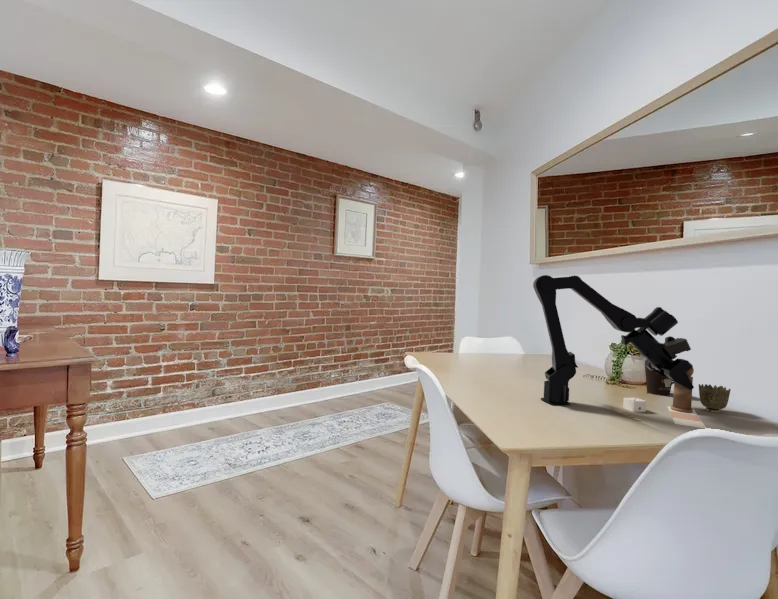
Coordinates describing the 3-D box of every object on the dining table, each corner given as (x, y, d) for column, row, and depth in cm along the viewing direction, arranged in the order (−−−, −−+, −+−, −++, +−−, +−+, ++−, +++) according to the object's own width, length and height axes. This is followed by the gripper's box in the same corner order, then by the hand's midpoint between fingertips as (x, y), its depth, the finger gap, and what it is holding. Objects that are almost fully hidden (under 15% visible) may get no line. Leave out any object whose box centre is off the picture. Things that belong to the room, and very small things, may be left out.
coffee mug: (648, 397, 141) (650, 367, 141) (639, 391, 149) (641, 363, 149) (688, 401, 138) (689, 370, 138) (676, 394, 147) (678, 366, 147)
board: (709, 432, 106) (710, 429, 106) (671, 426, 109) (671, 423, 109) (696, 412, 124) (696, 409, 124) (664, 408, 128) (664, 405, 128)
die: (633, 415, 119) (634, 401, 119) (623, 411, 123) (623, 397, 123) (645, 415, 120) (646, 401, 120) (635, 411, 124) (635, 397, 124)
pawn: (681, 413, 120) (684, 363, 119) (666, 407, 125) (669, 360, 125) (697, 412, 121) (700, 363, 120) (681, 407, 126) (684, 360, 125)
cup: (734, 418, 119) (736, 390, 119) (705, 416, 121) (706, 388, 121) (719, 411, 127) (721, 384, 127) (692, 409, 128) (693, 382, 128)
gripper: (686, 330, 114) (730, 374, 112) (657, 325, 132) (695, 363, 130) (652, 357, 116) (695, 401, 114) (628, 349, 134) (665, 386, 132)
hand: (688, 386), depth 122 cm, fingers closed on pawn, 4 cm apart
